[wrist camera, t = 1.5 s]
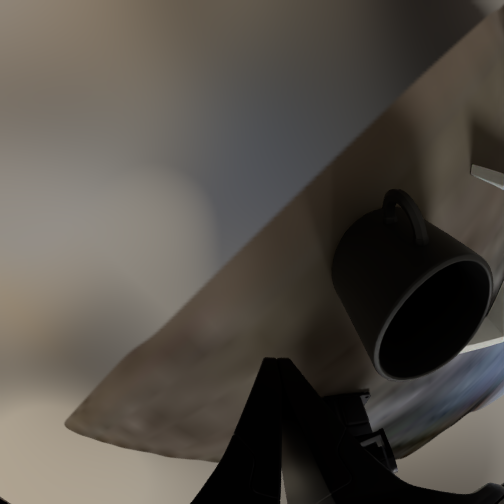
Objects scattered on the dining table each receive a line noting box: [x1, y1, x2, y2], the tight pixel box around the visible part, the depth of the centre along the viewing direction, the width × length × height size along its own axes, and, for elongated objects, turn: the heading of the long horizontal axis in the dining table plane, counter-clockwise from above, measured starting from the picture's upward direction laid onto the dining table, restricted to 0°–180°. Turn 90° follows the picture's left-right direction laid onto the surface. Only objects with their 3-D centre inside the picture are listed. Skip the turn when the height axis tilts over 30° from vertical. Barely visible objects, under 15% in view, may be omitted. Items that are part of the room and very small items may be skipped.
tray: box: [459, 164, 504, 354], centre depth 19 cm, size 18×14×4 cm
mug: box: [332, 189, 493, 382], centre depth 16 cm, size 9×12×9 cm
